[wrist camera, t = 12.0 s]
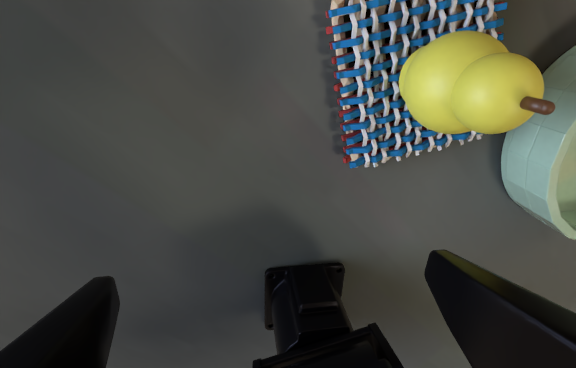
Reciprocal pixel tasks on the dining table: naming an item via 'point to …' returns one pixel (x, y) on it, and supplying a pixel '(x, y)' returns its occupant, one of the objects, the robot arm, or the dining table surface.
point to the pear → (471, 85)
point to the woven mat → (393, 70)
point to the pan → (547, 153)
